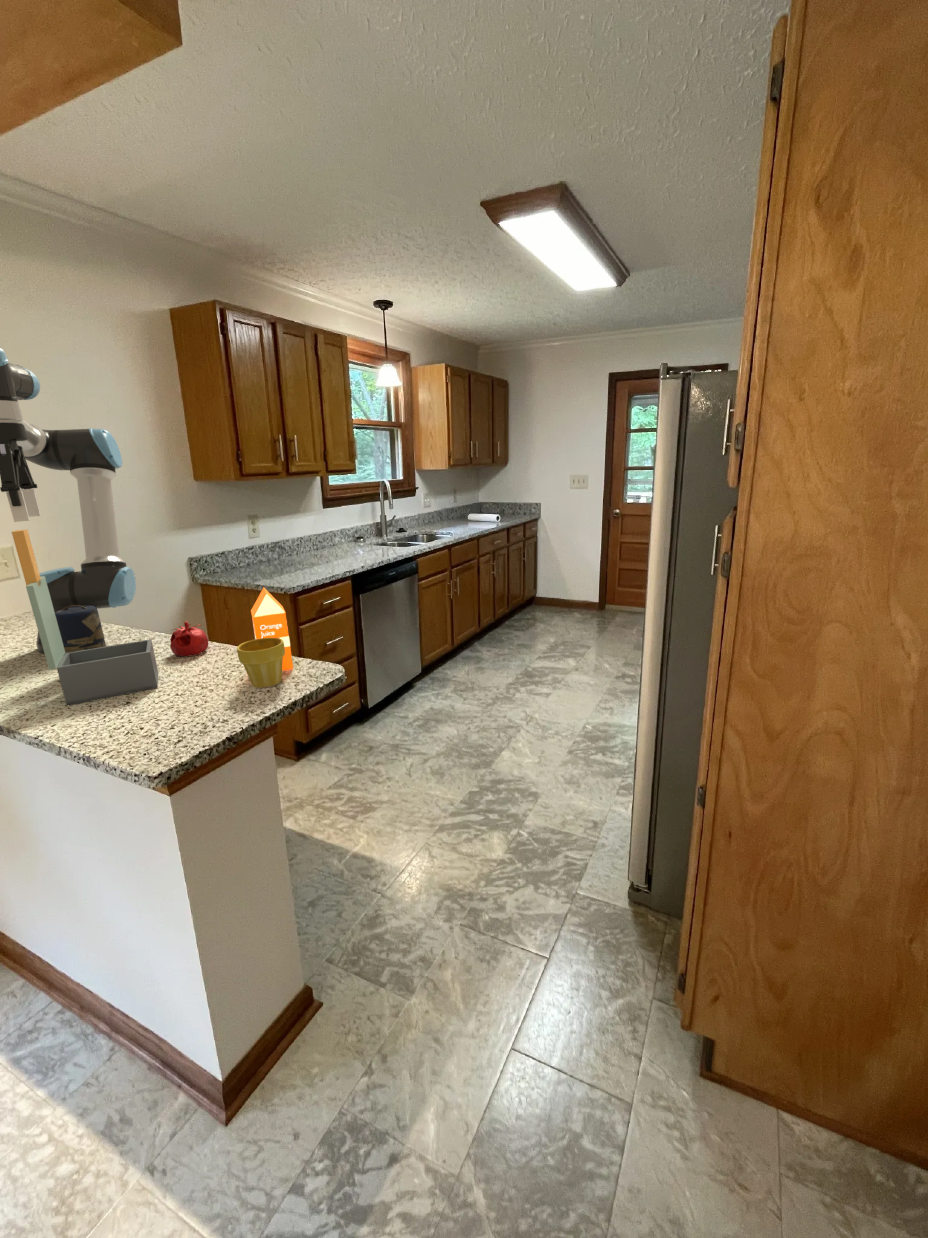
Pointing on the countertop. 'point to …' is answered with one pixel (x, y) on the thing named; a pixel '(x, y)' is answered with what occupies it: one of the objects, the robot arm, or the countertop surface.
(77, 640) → the canister
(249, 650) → the plant pot
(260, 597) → the orange juice
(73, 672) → the tub
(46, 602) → the lid
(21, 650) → the countertop surface
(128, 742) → the countertop surface
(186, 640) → the pomegranate
